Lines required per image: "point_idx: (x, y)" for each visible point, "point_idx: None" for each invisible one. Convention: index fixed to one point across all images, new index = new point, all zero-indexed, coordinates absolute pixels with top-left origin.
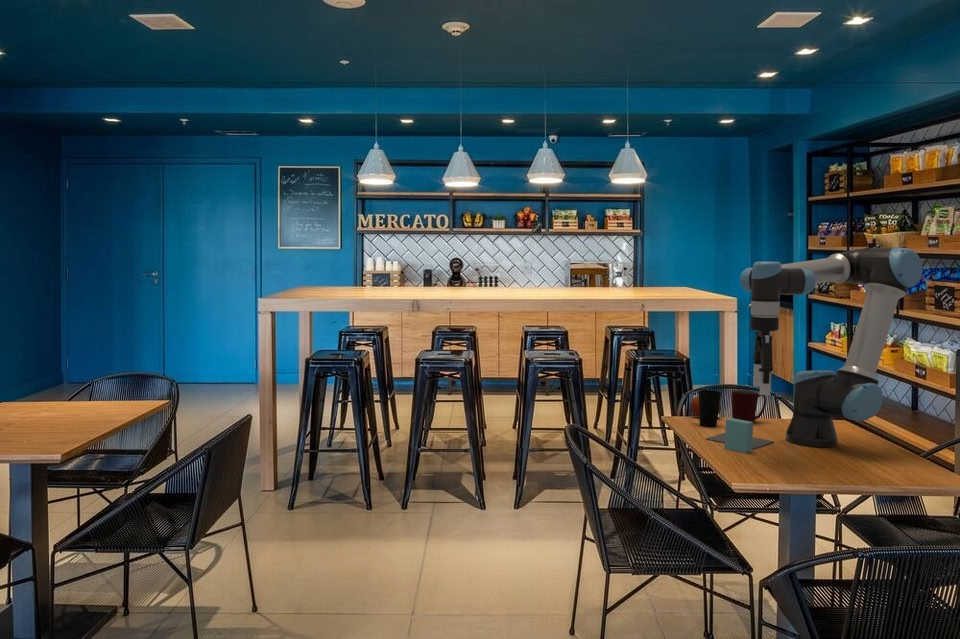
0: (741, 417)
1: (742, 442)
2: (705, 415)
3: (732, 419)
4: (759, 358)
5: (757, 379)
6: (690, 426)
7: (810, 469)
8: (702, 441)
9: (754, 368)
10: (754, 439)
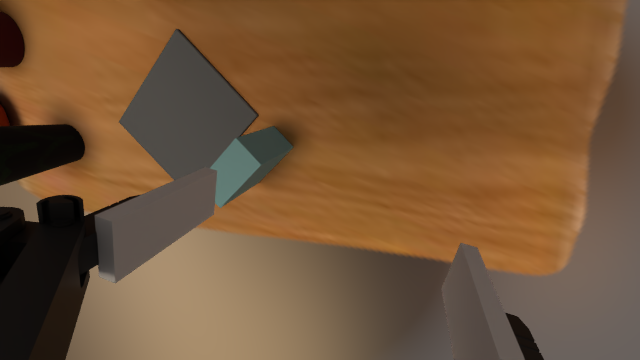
0: (5, 51)
1: (277, 159)
2: (57, 161)
3: None
4: (73, 293)
5: (190, 213)
6: (89, 184)
7: (442, 27)
8: None
9: (140, 265)
10: (170, 79)
